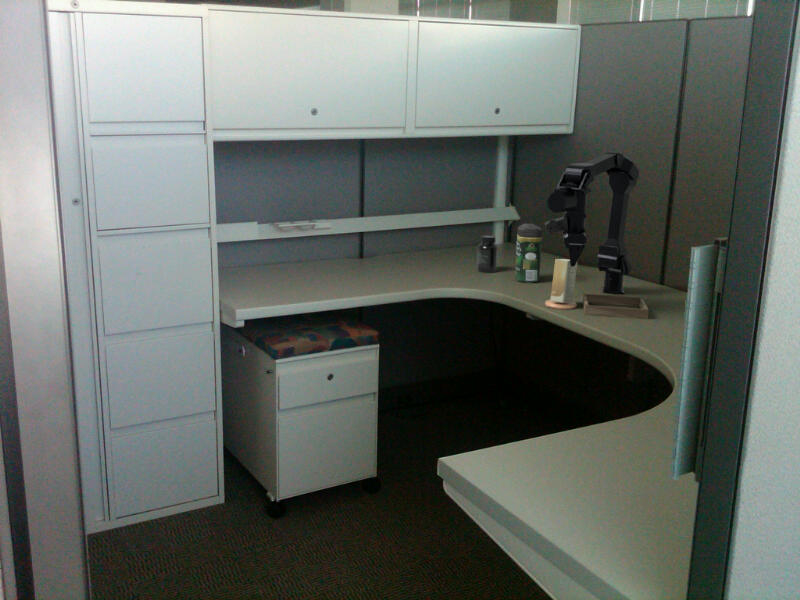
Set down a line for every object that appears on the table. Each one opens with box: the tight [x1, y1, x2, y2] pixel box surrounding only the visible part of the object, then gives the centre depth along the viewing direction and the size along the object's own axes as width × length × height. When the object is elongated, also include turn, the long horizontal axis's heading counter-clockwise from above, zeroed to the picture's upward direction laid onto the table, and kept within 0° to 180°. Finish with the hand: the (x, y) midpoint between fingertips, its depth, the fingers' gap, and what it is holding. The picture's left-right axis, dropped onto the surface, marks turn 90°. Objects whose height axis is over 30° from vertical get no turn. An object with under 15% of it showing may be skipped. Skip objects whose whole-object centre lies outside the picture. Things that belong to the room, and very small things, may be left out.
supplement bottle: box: [476, 235, 499, 274], centre depth 277 cm, size 7×7×12 cm
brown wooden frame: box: [582, 293, 649, 320], centre depth 229 cm, size 15×17×2 cm
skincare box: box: [549, 258, 579, 303], centre depth 232 cm, size 6×4×12 cm
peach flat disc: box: [544, 299, 577, 311], centre depth 233 cm, size 9×9×1 cm
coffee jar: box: [514, 223, 543, 284], centre depth 263 cm, size 10×8×19 cm
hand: (572, 263), depth 232 cm, fingers open, 9 cm apart
